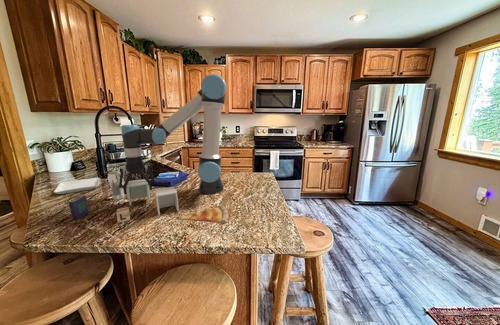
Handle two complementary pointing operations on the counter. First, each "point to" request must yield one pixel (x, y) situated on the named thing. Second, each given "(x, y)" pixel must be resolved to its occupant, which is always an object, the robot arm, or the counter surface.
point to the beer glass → (116, 185)
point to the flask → (78, 207)
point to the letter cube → (123, 214)
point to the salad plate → (77, 186)
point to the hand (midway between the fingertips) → (139, 197)
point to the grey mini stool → (166, 198)
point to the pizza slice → (210, 215)
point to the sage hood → (137, 189)
